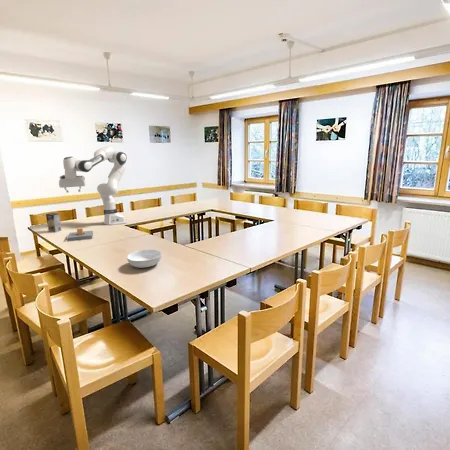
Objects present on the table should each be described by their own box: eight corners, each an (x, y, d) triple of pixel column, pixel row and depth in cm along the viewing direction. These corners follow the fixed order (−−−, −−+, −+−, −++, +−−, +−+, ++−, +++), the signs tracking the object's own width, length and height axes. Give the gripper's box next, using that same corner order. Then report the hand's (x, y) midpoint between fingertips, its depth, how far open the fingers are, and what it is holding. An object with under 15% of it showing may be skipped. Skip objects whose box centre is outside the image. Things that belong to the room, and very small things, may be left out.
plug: (83, 236, 252) (82, 227, 250) (83, 238, 248) (82, 228, 246) (78, 237, 251) (77, 227, 249) (78, 238, 246) (76, 229, 244)
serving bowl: (135, 258, 199) (134, 248, 198) (166, 259, 197) (165, 249, 196) (122, 271, 179) (121, 260, 178) (156, 272, 177) (155, 261, 176)
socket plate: (93, 233, 259) (92, 230, 259) (92, 238, 245) (91, 235, 244) (70, 236, 253) (69, 232, 253) (67, 241, 239) (67, 237, 238)
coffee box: (48, 231, 269) (45, 214, 265) (54, 229, 275) (51, 212, 271) (55, 232, 266) (53, 214, 262) (61, 230, 272) (59, 213, 268)
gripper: (84, 175, 264) (86, 190, 267) (58, 176, 257) (61, 192, 260) (84, 175, 258) (86, 191, 261) (57, 177, 251) (60, 193, 255)
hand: (73, 192), depth 261 cm, fingers open, 8 cm apart
